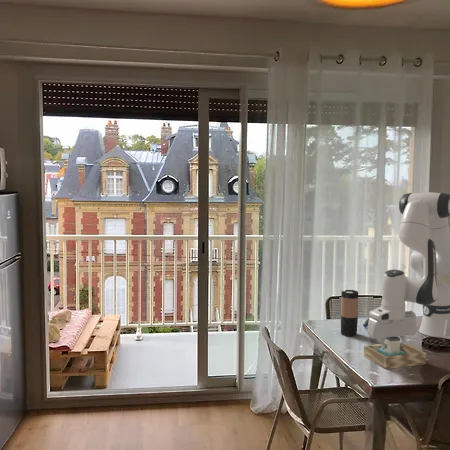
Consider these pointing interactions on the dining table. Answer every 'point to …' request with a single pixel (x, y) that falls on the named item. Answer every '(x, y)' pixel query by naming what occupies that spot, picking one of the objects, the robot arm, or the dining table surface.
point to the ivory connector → (392, 345)
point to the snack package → (366, 324)
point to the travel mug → (349, 312)
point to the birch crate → (395, 357)
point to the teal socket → (389, 353)
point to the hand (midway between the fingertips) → (391, 347)
